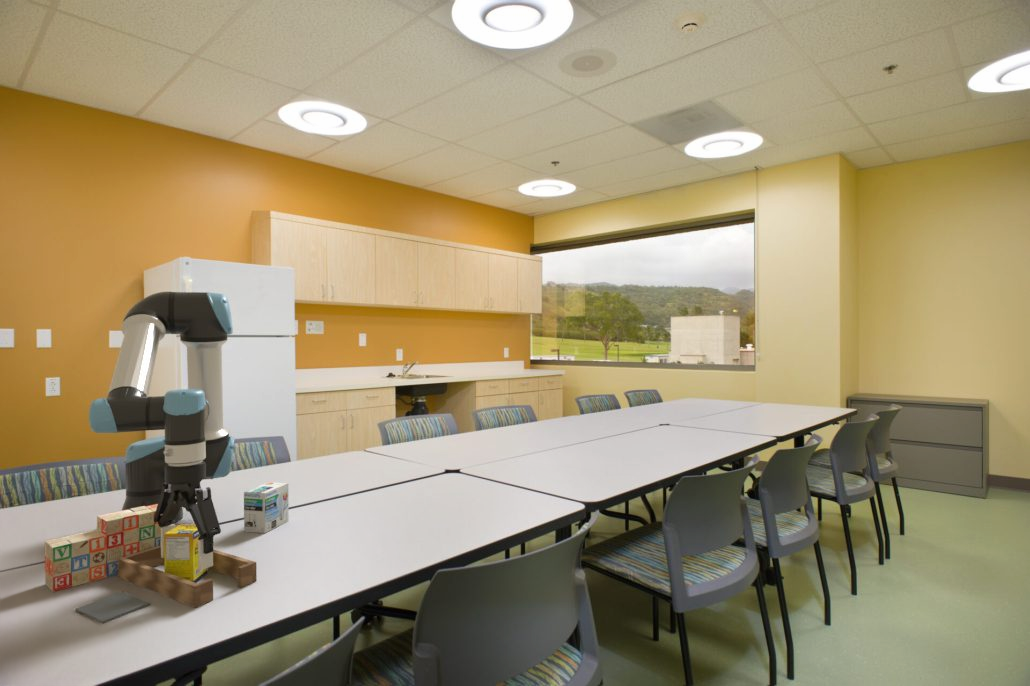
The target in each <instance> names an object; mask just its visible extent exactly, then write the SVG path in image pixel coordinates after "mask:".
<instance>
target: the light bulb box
mask: <svg viewBox="0 0 1030 686" xmlns="http://www.w3.org/2000/svg"><path fill="white" fill-rule="evenodd" d="M289 505H290V504H289V483H287V482H286V483H285V482H272V481H268V482H266V483H262V484H260V485H258V486H256V487H253V488H251V489H248V490H246V491H244V492H243V524H244V525H243V532H248V533H259V534H266V533H268V532H270V531H272V530H274V529H276V528H278V527H280V526H282V525H283V524H286V523H287V522H289V520H290V519H289V517H290V516H289V515H290V514H289V510H290V508H289Z"/></svg>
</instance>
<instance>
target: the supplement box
mask: <svg viewBox="0 0 1030 686" xmlns="http://www.w3.org/2000/svg"><path fill="white" fill-rule="evenodd" d="M199 536H200V534H199V532H198V529H197V527H196V525H195V523H194V524H179V525H176V526H175V528H173V529H172V530H170V531H168V532H166V533H165V534H164V563H163V564H164V572H166V573H169V574H172V575H175V576H177V577H180V578H183V579H186V580H189V581H192V582H194V583H197V582H199V580H200V579H202V578H204V576H205V575H207V574H208V571H209V569H208V568H206V569H204V570H201V571H200V570H198V538H199Z"/></svg>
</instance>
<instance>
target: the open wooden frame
mask: <svg viewBox="0 0 1030 686" xmlns="http://www.w3.org/2000/svg"><path fill="white" fill-rule="evenodd" d="M163 564H164V558H161V545H160V546H157V547H154V548H151V549H148V550H144V551H141V552H138V553H135V554H132V555H129V556H126V557H122V558H119V559H118V574H117V578H119V579H121V580H124V581H127V582H128V583H132V584H134V585H136V586H140V587H142V588H144V589H147V590H150V591H152V592H155V593H156V594H159V595H161V596H162V595H163V596H165V597H166V598H170V599H173V600H175V601H177V602H180V603H182V604H185V605H188V606H191V607H192V608H198V607H201V606H202V605H205V604H207V603H210V602H212V601H214V579H212V578H208V579H205V580H203V581H200V582H198V583H197V582H196V583H194V582H192V581H189V580H186V579H183V578H180V577H177V576H175V575H172V574H169V573H166V572H165V571H162V570H160V569H158V568H154V567H157V566H160V565H163ZM208 570H212V571H215V572H218V573H221V574H223V575H227V576H230V577H233V578H236V579H238V580H237V582H238V583H237V584H238V585H237V586H238V587H237V588H244V587H246V586H248V585H251V584H253V583H256V582H257V577H258V576H257V561H253V560H250V559H247V558H244V557H240V556H236V555H234V554H230V553H226V552H223V551H220V550H216V549H214V548H213V566H211V567H209V568H208Z"/></svg>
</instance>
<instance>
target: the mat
mask: <svg viewBox="0 0 1030 686" xmlns="http://www.w3.org/2000/svg"><path fill="white" fill-rule="evenodd" d="M150 605H151V602H149V601H147V600H145V599H142V598H139V597H137V596H135V595H133V594H129V593H127V592H125V591H120V592H116V593H114V594H111V595H108V596H106V597H103V598H100V599H98V600H94V601H92V602H90V603H87V604H84V605H82V606H77V607H76V608H75V611H76V612H77V613H80V614H82V615H84V616H86V617H88V618H91V619H92V620H94V621H96V622H99V623H101V624H102V625H103V624H105V623H107V622H110V621H112V620H116V619H117V618H120V617H122V616H125V615H128V614H130V613H133V612H134V611H135V612H136V611H137V610H138V611H139V609H142V608H146V607H148V606H150Z"/></svg>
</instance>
